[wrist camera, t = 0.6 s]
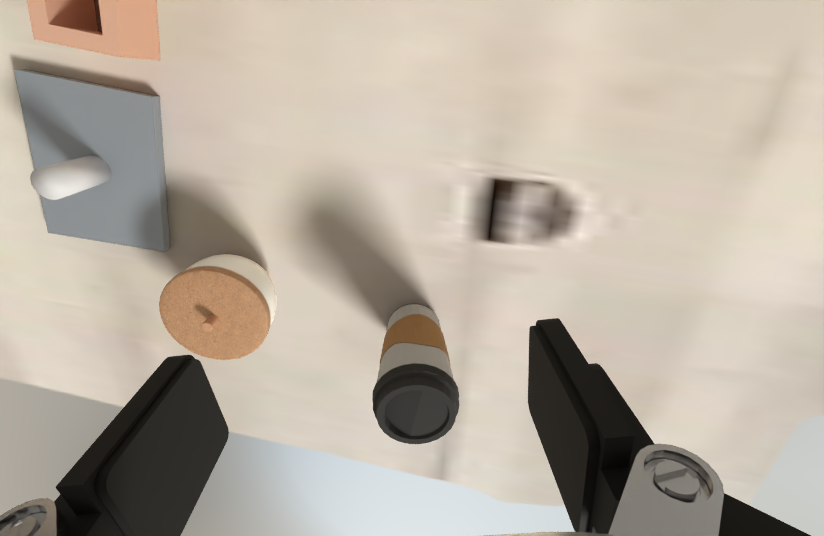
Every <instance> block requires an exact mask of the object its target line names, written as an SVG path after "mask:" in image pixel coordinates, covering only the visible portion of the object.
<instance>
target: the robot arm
mask: <svg viewBox="0 0 824 536" xmlns="http://www.w3.org/2000/svg"><path fill="white" fill-rule="evenodd" d="M528 404H529V410H530V413H531V416H532V419H533V421H534V424H535V427H536V429H537V432H538V435H539V437H540V440H541V443H542V445H543V448H544V451H545V453H546V456H547V459H548V461H549V464H550V467H551V469H552V472H553V475H554V477H555V480H556V483H557V485H558V488H559V491H560V493H561V496H562V499H563V501H564V504H565V507H566V509H567V512H568V515H569V517H570V520H571V522H572V525H573V528H574V530H575V532H538V533H521V534H504V535H487V536H811V535H808V534H806V533H804V532H802V531H800V530H798V529H796V528H794V527H792V526H790V525H788V524H786V523H784V522H782V521H780V520H777V519H776V518H774V517H772V516H770V515H768V514H766V513H763V512H761V511H759V510H757V509H755V508H753V507H751V506H749V505H747V504H745V503H743V502H741V501H739V500H737V499H735V498H733V497H731V496H729V495H727V494H725V493H724V491H723V484H722V482H721V480H720V478H719V476H718V475H717V473H716V472H715V471H714V470H713V469H712V468H711V467H710V465H709V464H708V463H706V462H705V461H704V460H702V459H701V458H700V457H698V456H697V455H695V454H693V453H691V452H689V451H687V450H685V449H683V448H679V447H676V446H673V445H666V444H654V443H653V441H652V440H651V438H650V437H649V435H648V434H647V432H646V431H645V429H644V428H643V427H642V425H641V424H640V422H639V421H638V419H637V418H636V416H635V415H634V413H633V412H632V410H631V409H630V408H629V406H628V405H627V403H626V402H625V400H624V399H623V397H622V396H621V394H620V393H619V391H618V390H617V389H616V387H615V386H614V384H613V383H612V381H611V380H610V378H609V377H608V375H607V374H606V372H605V371H604V369H603V368H602V367H601V366H600V365H599V364H597V363H595V364H588V363H587V361H586V359H585V358H584V356H583V355H582V353H581V352H580V350H579V349H578V347H577V345H576V344H575V342H574V341H573V339H572V338H571V336H570V335H569V333H568V331H567V330H566V328H565V327H564V325H563V324H562V322H561V321H560V320H559V319H558V318H556V319H546V320H538V321H537V322H536V326H531V327H530V334H529V379H528ZM228 433H229V432H228V427H227V424H226V422H225V419H224V417H223V415H222V412H221V410H220V407H219V405H218V403H217V400H216V398H215V395H214V393H213V391H212V388H211V386H210V384H209V381H208V379H207V376H206V374H205V372H204V369H203V367H202V364H201V362H200V361H199V360H197V359H195V358H194V357H193V356H192V355H182V356H172V357H168V358H166V359H165V360H164V361H163V363H162V364H161V365H160V366H159V367H158V368H157V370H156V371H155V372H154V373H153V374H152V375H151V377H150V378H149V379H148V380H147V381H146V382H145V384H144V385H143V386H142V387H141V388H140V389H139V391H138V392H137V393H136V394H135V395H134V396H133V397H132V399H131V400H130V401H129V402H128V403H127V404H126V406H125V407H124V408H123V409H122V410H121V411H120V413H119V414H118V415H117V416H116V417H115V419H114V420H113V421H112V422H111V423H110V424H109V425H108V427H107V428H106V429H105V430H104V431H103V433H102V434H101V435H100V436H99V437H98V438H97V439H96V441H95V442H94V443H93V444H92V445H91V447H90V448H89V449H88V450H87V451H86V452H85V453H84V455H83V456H82V457H81V458H80V459H79V460H78V462H77V463H76V464H75V465H74V466H73V468H72V469H71V470H70V471H69V472H68V473H67V474H66V476H65V477H64V478H63V479H62V480H61V482H60V483H59V484H58V485H57V486H56V489H57V490H58V491H59V492H60V496H59V497H58V498H57V499H56V500H55V502H54V501H52V500H50V499H48V498H40V499H35V500H32V501H27V502H25V503H23V504H21V505H18V506H16V507H14V508H12V509H11V510H9V511H7V512H6V513H4V514H2V515H1V516H0V536H180V535H181V533H182V531H183V529H184V527H185V525H186V523H187V521H188V519H189V517H190V515H191V513H192V511H193V509H194V507H195V505H196V503H197V501H198V499H199V497H200V495H201V493H202V491H203V488H204V486H205V484H206V483H207V481H208V479H209V477H210V474H211V472H212V470H213V468H214V466H215V464H216V462H217V460H218V458H219V456H220V454H221V452H222V450H223V448H224V446H225V444H226V442H227V439H228Z"/></svg>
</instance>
